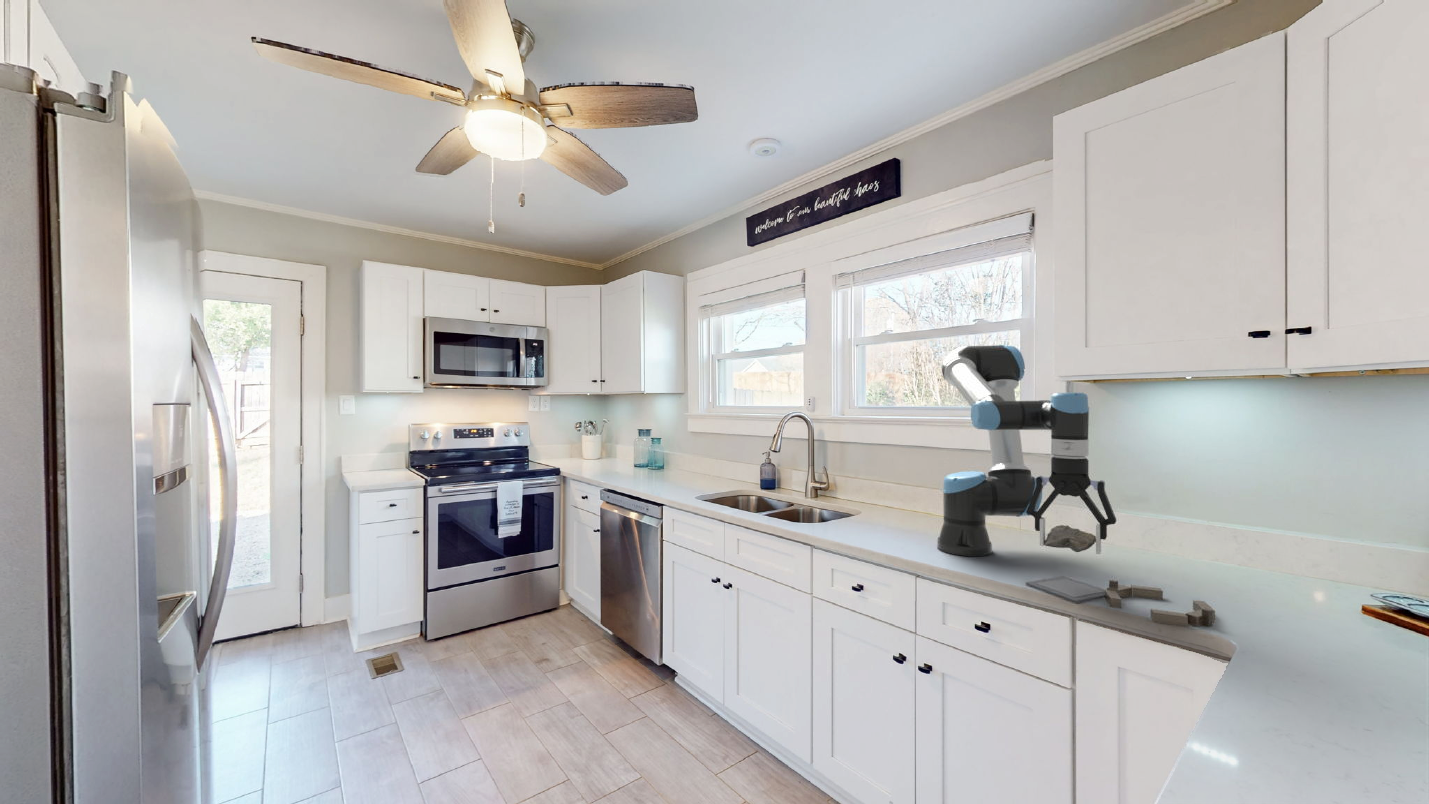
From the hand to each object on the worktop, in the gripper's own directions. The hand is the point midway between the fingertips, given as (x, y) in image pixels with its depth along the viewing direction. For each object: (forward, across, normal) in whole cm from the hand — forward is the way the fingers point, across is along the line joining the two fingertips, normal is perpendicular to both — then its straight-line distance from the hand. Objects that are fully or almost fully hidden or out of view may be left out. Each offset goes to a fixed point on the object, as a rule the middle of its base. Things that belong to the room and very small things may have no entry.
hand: (1069, 548), depth 132 cm
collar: (+10, +16, -1) cm, 19 cm away
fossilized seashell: (+1, 0, 0) cm, 1 cm away
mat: (+10, 0, 0) cm, 10 cm away
